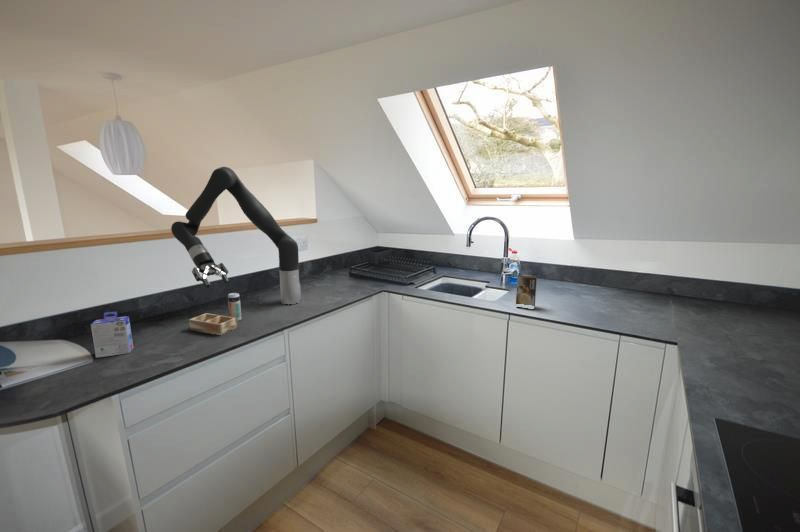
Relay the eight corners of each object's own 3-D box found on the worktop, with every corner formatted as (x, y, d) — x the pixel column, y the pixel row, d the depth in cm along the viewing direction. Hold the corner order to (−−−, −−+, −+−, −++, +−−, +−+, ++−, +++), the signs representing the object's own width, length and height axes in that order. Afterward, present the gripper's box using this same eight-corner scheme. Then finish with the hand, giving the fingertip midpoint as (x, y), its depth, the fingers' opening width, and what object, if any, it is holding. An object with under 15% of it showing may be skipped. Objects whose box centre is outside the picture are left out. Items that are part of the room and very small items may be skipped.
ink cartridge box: (134, 347, 133) (128, 309, 130) (130, 353, 128) (125, 313, 125) (100, 352, 129) (93, 312, 126) (95, 358, 124) (88, 317, 121)
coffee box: (535, 306, 184) (537, 275, 181) (534, 310, 178) (537, 278, 175) (516, 304, 188) (518, 273, 184) (514, 308, 182) (517, 276, 179)
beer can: (232, 318, 164) (229, 292, 161) (243, 318, 164) (241, 292, 162) (228, 322, 159) (225, 295, 157) (239, 322, 159) (237, 295, 157)
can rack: (207, 323, 158) (206, 313, 157) (237, 328, 152) (236, 317, 151) (189, 330, 150) (188, 319, 149) (220, 335, 144) (219, 324, 143)
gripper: (187, 253, 160) (205, 282, 156) (218, 249, 172) (235, 276, 168) (182, 264, 163) (200, 293, 160) (212, 259, 175) (229, 286, 172)
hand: (218, 284), depth 164 cm, fingers open, 8 cm apart
